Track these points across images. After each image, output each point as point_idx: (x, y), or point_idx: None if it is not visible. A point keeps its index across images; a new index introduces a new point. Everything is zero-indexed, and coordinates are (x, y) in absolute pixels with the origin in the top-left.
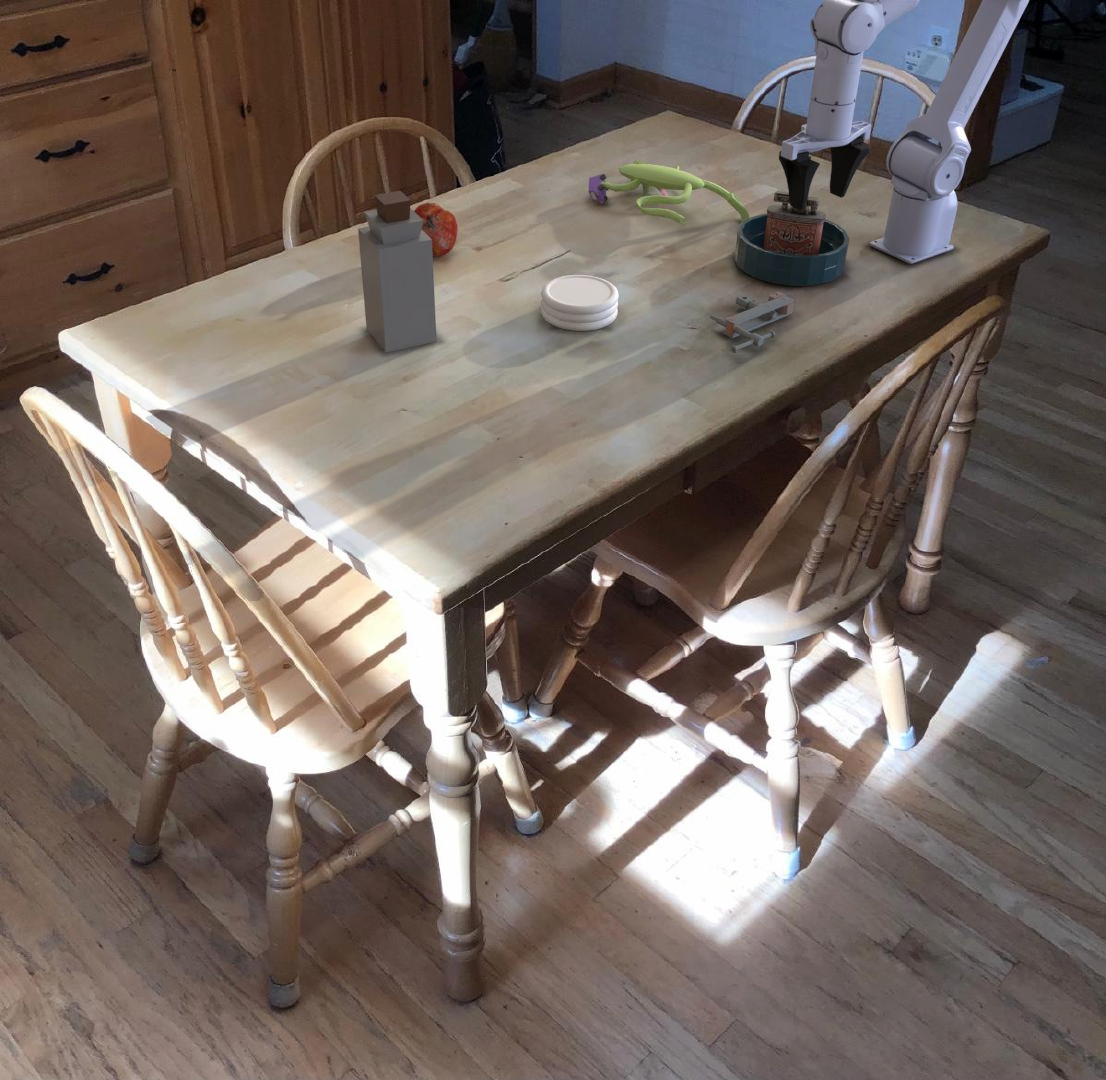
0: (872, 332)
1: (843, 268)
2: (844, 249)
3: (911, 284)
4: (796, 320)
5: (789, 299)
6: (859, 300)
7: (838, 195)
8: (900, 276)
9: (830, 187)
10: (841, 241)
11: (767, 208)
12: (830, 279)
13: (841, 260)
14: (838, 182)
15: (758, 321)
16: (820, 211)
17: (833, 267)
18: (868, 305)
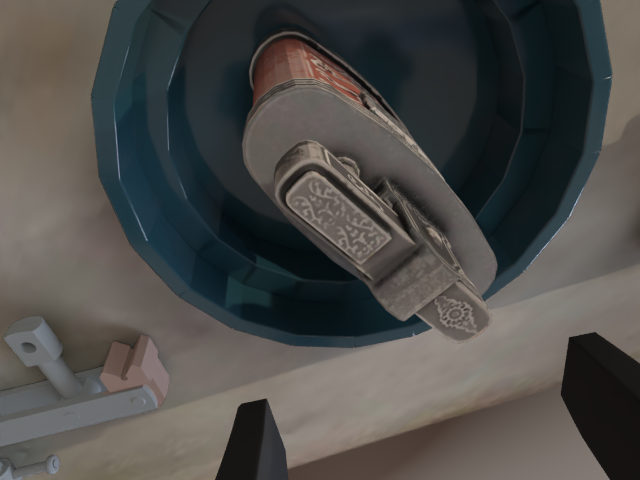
0: (301, 459)
1: None
2: None
3: (552, 333)
4: (166, 394)
5: (148, 406)
6: (375, 360)
7: (567, 385)
8: (570, 294)
9: (588, 360)
10: (527, 212)
11: (248, 125)
12: None
13: None
14: (615, 434)
15: (52, 397)
16: (490, 259)
17: None
18: (376, 382)
